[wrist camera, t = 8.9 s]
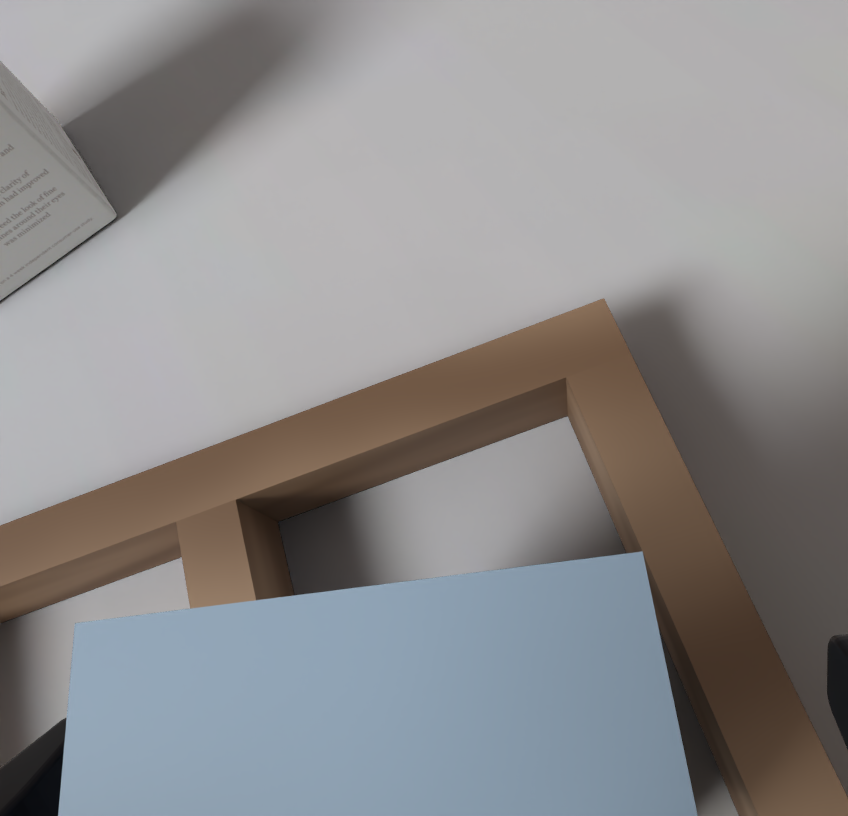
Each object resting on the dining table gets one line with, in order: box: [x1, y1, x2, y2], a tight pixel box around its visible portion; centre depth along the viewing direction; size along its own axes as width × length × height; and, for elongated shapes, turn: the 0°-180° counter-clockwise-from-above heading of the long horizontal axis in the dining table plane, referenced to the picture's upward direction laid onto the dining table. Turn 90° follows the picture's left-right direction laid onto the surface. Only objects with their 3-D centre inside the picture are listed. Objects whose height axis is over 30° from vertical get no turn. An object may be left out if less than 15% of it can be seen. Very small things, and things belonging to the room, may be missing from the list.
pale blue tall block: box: [58, 551, 698, 816], centre depth 10 cm, size 4×4×12 cm
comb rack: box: [0, 299, 848, 816], centre depth 15 cm, size 16×20×2 cm
